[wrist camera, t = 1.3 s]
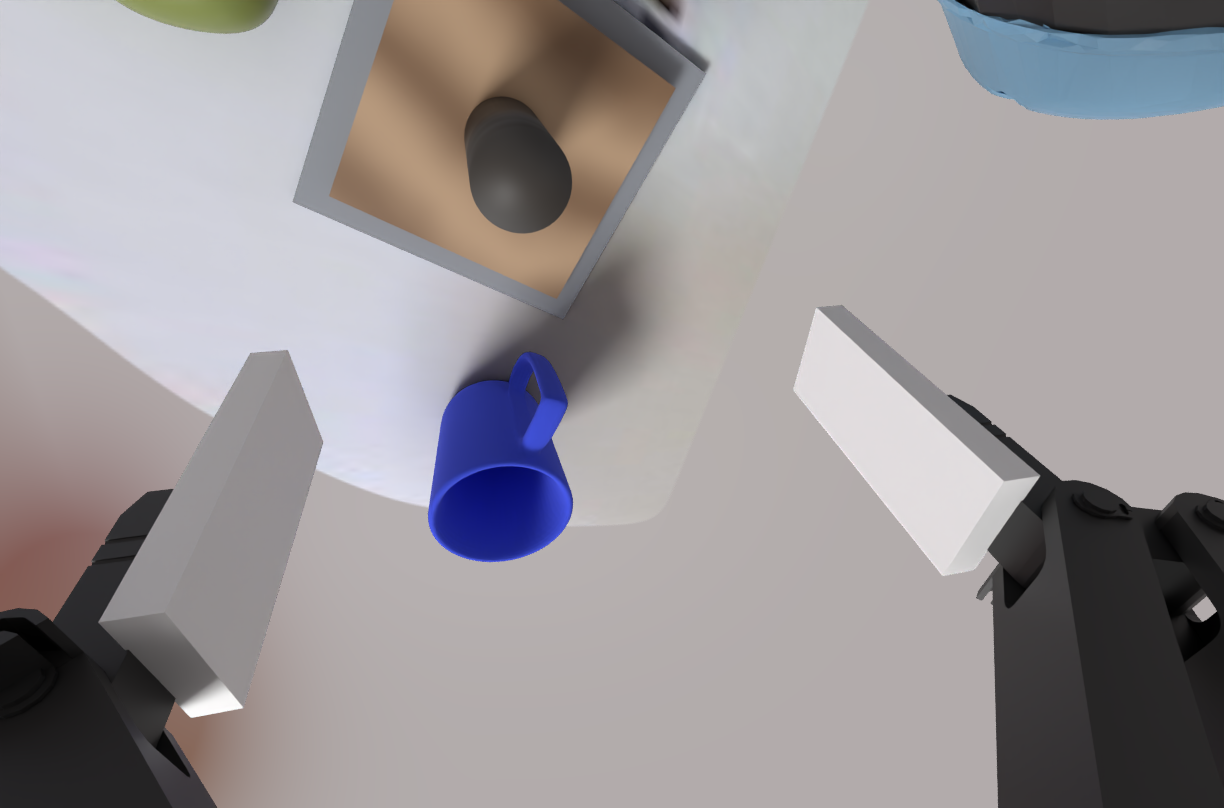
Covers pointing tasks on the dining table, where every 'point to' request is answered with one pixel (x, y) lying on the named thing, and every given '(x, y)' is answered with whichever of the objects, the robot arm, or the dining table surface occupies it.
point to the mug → (501, 467)
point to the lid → (498, 132)
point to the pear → (206, 13)
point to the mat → (313, 193)
